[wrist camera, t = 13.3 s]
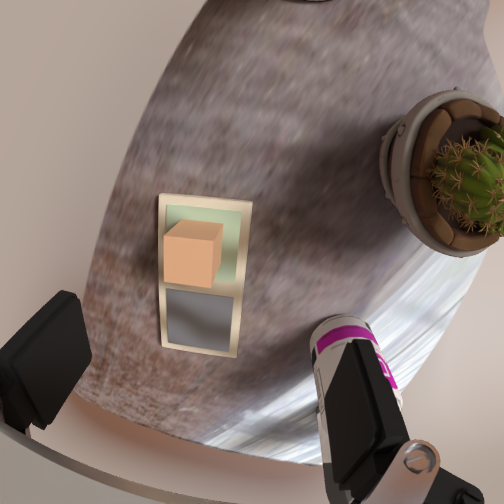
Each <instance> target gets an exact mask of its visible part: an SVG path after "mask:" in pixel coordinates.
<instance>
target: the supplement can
mask: <svg viewBox="0 0 504 504" xmlns="http://www.w3.org/2000/svg"><path fill="white" fill-rule="evenodd" d="M353 339H369V340H371V342H372V344H373V347H374V349H375V352H376V354H377V357H378V360H379V362H380V365H381V367H382V370H383V373H384V375H385V377H386V378H387V379H388V380H389V381H390V384H391V386H392V389H393V392H394V394H395V397H396V400H397V403H398V406H399V408H400V411H401V410H402V405H403V401H402V397H401V394H400V392H399V390H398V387H397V385H396V383H395V381H394V378H393V376H392V374H391V372H390V369H389V367H388V365H387V363H386V361H385V358H384V356H383V354H382V352H381V350H380V348H379V345H378V343H377V341H376V339H375V337H374V335H373V333H372V331H371V329H370V327H369V325H368V323H367V322H366V321H364V320H363V319H362V318H361V317H358V316H355V315H338V316H334V317H331V318H329V319H327V320H326V321H324V322H322V323H321V324H320V325H319V326H318V327H317V328H316V329H315V330H314V332H313V333H312V336H311V339H310V341H309V342H310V353H311V359H312V365H313V371H314V377H315V384H316V390H317V397H318V403H319V410H320V417H321V424H322V428H323V429H324V431H325V432H326V433H327V435H328V429H327V421H326V414H325V406H324V398H325V394H326V392H327V390H328V387H329V385H330V383H331V380H332V378H333V376H334V373H335V371H336V368H337V366H338V364H339V361H340V359H341V356H342V354H343V351H344V348H345V346H346V344H347V343H348V342H352V340H353Z"/></svg>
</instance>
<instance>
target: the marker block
mask: <svg viewBox="0 0 504 504" xmlns="http://www.w3.org/2000/svg"><path fill="white" fill-rule="evenodd" d="M223 224H224V223H215V222H205V221H195V220H185V219H182V220H180V221H179V222H178V223H177V224H176V225H175V226H174V227H173V228H172V229H170V230H169V231H168V232H167V233H166V234H165V235H164V282H169V283H177V284H184V285H191V286H199V287H206V288H211V287H212V284H213V282H214V279H215V277H216V274H217V272H218V269H219V266H220V264H221V252H222V238H223Z"/></svg>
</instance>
